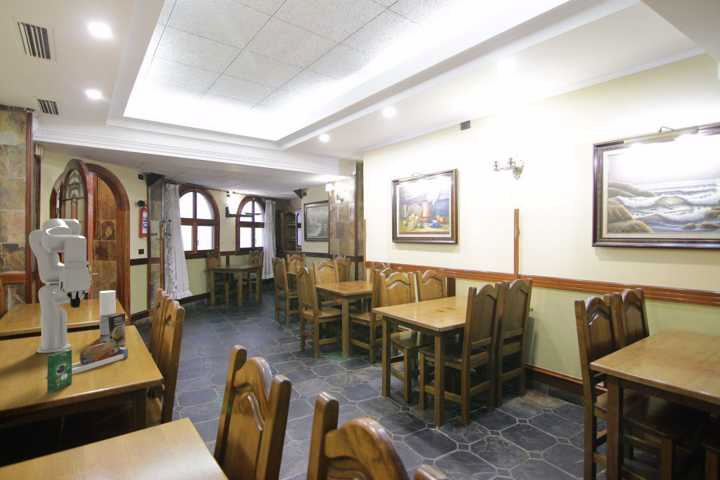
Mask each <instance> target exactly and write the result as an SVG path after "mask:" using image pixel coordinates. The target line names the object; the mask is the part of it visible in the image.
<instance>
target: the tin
mask: <svg viewBox="0 0 720 480" xmlns="http://www.w3.org/2000/svg"><path fill="white" fill-rule="evenodd" d="M119 352H120V348H119V345H118V344H117V343H115V342H106V343H102V344H100V343H99V344H95V345H92V346H87V347H86V348H84V349H83V350H82V351H81V353H80V354H79V362H81V364H83V365H87V364H90V363H94V362H97V361H100V360H103V359H107V358H110V357H113V356H117V355H118V354H119Z"/></svg>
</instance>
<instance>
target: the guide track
mask: <svg viewBox="0 0 720 480" xmlns="http://www.w3.org/2000/svg"><path fill="white" fill-rule="evenodd" d="M119 348H120V352H119V354H118V355H117V356H113V357H110V358H107V359H103V360H100V361H97V362H94V363H90V364H87V365H83V364H81V362H80V361H79V362H75V363H72V375H76V374H79V373H82V372H85V371H87V370H91V369H93V368H97V367H101V366H104V365H106V364H110V363H114V362H116V361H119V360H123V359H125V358H129V348H127V347H123V346H120V347H119Z"/></svg>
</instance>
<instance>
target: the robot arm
mask: <svg viewBox="0 0 720 480" xmlns="http://www.w3.org/2000/svg"><path fill="white" fill-rule="evenodd" d="M81 232H82V226H81V223H80V221H79V220H77V219H73V218H49V219H47V220H44V221H43V223H42V225H41V229H35V230H34V229H33V230H32V231H31V232H30V233H29V236H28V242H29V243H28V244H29V247H30V249H31V251H32V253H33V254H34V255H35V258H36V262H37V267H38V275H39V279H40V281H41V282H42V283H43V284H48V285H44V286H42V287H40V288H39V290H38V293H37V295H38V300H39V306H40V318H41V319H40V323H41V325H40V326H41V330H40V331H41V335H40V336H41V339H40V340H41V341H40V344H41V345H40V346H41V347H38V348H37V349H36V352H37V353H39V354H53V353H57V352H60V351H62V350H65V349H70V348H71V347H72V344H71V343H68V320H67V318H68V313H67V310H66V309H65V308H64V307H62V306H61V304H66V303H69V305H70V308H74V309H76V308H77V309H78V308H80V305H81V301H82V300H83V299H84V298H85V294H86V293H89V292H90V290H91V289H90V288H91V277H90V271H89V268H88V267H87V266H88V265H90V261H88V260H87V238H86V237H85V236H82V235H80V234H81ZM58 253H63V255H64V256H63V260H64V261H63V262H64V263H61V260H60V255H59V254H58Z"/></svg>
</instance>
